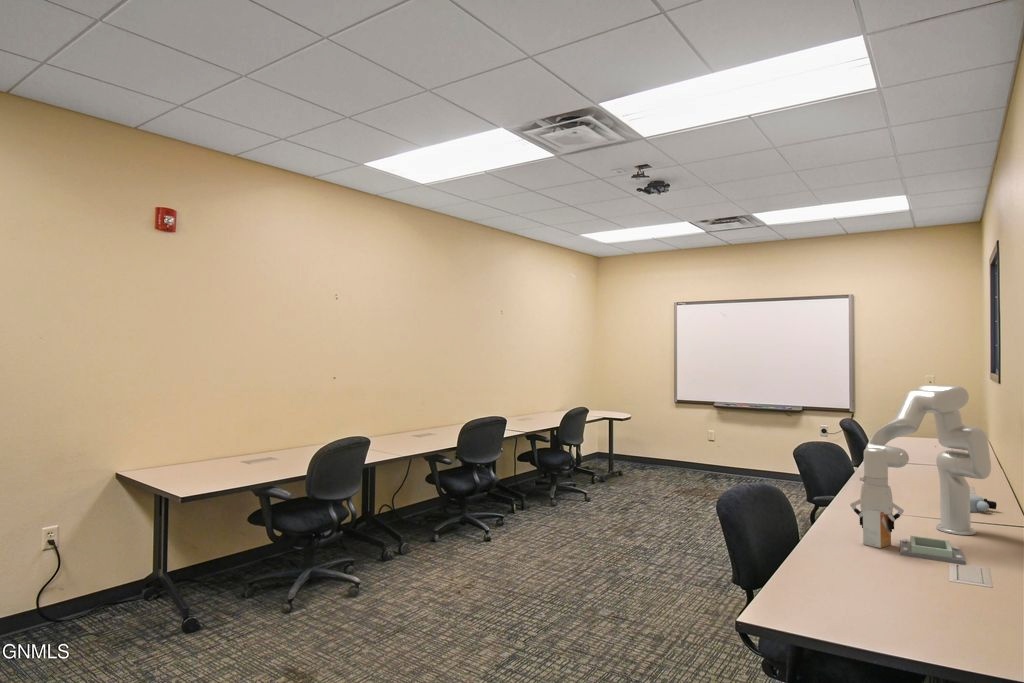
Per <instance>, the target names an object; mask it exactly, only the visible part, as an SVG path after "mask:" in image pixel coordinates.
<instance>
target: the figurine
mask: <svg viewBox="0 0 1024 683" xmlns="http://www.w3.org/2000/svg"><path fill="white" fill-rule="evenodd" d="M990 509H992V510H996V509H997V502H996V501H992V500H988V499H987V498H984V497H982V496H979V495H976V494H974V493H972V492H970V513H972V512H973V513H980V511H981V512H987V511H988V510H990Z"/></svg>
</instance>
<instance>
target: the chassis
mask: <svg viewBox="0 0 1024 683" xmlns="http://www.w3.org/2000/svg"><path fill="white" fill-rule="evenodd" d="M899 551H900V552H899V553H900V556H904V557H905V556H906V557H912V558H913V557H914V558H918V559H919V558H920V559H925V560H927V559H928V560H933V561H940V562H945V563H953V564H957V565H959V564H960V565H966V560H965V557H964V554H963V552H962V549H961V548H959V546H951V543H950V541H949V540H945V539H939V538H932V537H931V538H929V537H922V536H916V535H910V541H909V540H908V539H899Z"/></svg>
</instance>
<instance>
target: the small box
mask: <svg viewBox="0 0 1024 683" xmlns="http://www.w3.org/2000/svg"><path fill="white" fill-rule="evenodd" d="M862 545H866V546H870V547H874V548H878V549H882V548H884V547H888V546H891V545H892V532H890V518H889V516H888V515H884V513H883V512H882V511H875V510H866V511H863V528H862Z"/></svg>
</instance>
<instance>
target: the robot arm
mask: <svg viewBox="0 0 1024 683" xmlns="http://www.w3.org/2000/svg"><path fill="white" fill-rule="evenodd" d="M969 398H970V397H969V392H968V391H967V389H965V388H964V387H963V386H961V385H950V384H949V385H948V384H947V385H944V384H943V385H942V384H922V385H920V386H918V387H917V388H916V389H914V390H910V391H908V392H907V393H906V394H905V395H904V397H903V399H902V401H901V403H900V405H899V406H898V409H897V411H896V413H895V415H894V417H893V419H892V420H891V421H889V422H887V423H885V424H884V425H883V426H881V427H880V428H878V429H877V430H876V431H875V432H874V433H873V434H871V436H870V439H869V440H868V443H867V444H866V446H865V449H864V450H863V476H859V481H860V482H861V481H862V482H863V483H862V484H861V487H860V499H858V500H856V501H853V502H851V503H850V504H849V505H850V507H851V508H852V510H853V512H855V513H856V515H858V517H859V525H860V526H861V529H863V511H866V510H875V511H882V512H883V513H884V515H888V516H889V518H890V532H891V533H893V530H895V521H896V520H898V519H899V518H900V517H901V516H902V515H903V514H904V511H905V510H904V509H903V508H901V507H900V506H899V505H898V504H896V503H894V502H893V493H892V489H891V486H890V485H889V472H888V471H889V468H892V469H893V468H896V469H898V468H904V467H906V466H907V465H908V463H909V462H910V457H909V454H908V452H907V451H906V450H905V449H903V448H901V447H897V446H890V445H887V444H888V443H889V442H890V441H892V440H895V439H897V438H900V437H904V436H908V435H911V434H914V433H916V432H918V430H919V428H920V426H921V424H922V421H923V420H924V417H925V416H926V414H927V413H928V414H929V413H930V414H933V416H934V423H935V428H936V429H935V430H936V436H937V441H938V443H939V445H940V446H942V447H944V448H948V449H953V450H948V449H947V450H943V451H940V452H939V453H938V454H937V456H936V461H935V463H936V467H937V471H938V476H939V494H940V495H939V500H940V502H939V503H940V504H939V505H940V523H937V524H935V525H936V526H935V528H936V529H937V530H938V531H940V532H943V533H947V534H953V535H960V536H973V535H976V533H977V532H976V529H975V528H972V527H971V512H970V493H971V489H970V485H969V482H968V481H967V479H966V478H969V479H975V480H985V479H987V478H988V477H989V476H990V475H991V472H992V462H991V455H990V447H989V440H988V436H987V435H986V433H985V431H984V430H983V429H982V428H980V427H977V426H974V425H973V426H972V425H964V424H963V420H962V415H961V411H960V409H962V408H964V407H965V406H966V405H967V404H968V402H969ZM958 450H960V451H958ZM961 450H962V451H961ZM966 451H967V452H966ZM858 505H859V506H860V510H859V509H858V508H857V506H858ZM894 509H895V510H896V511H897V512H896V513H895V514H893V512H894Z"/></svg>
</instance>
